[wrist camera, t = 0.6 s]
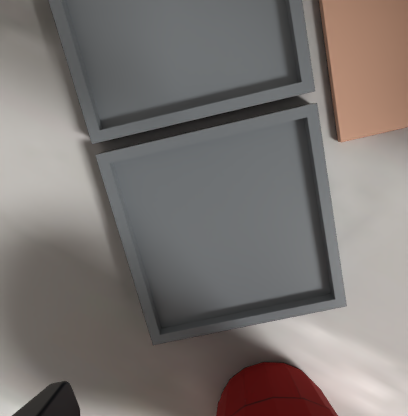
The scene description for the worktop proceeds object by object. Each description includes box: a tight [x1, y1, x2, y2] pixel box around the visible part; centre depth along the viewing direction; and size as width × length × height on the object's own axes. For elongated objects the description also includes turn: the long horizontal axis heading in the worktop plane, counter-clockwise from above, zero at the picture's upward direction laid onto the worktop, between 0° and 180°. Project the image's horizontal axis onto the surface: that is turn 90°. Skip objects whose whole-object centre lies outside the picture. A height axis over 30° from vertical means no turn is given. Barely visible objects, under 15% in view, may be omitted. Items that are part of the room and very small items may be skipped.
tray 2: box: [95, 103, 347, 345], centre depth 18 cm, size 10×10×1 cm
